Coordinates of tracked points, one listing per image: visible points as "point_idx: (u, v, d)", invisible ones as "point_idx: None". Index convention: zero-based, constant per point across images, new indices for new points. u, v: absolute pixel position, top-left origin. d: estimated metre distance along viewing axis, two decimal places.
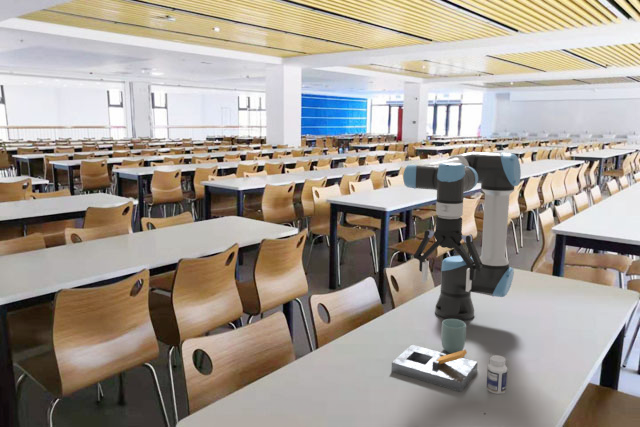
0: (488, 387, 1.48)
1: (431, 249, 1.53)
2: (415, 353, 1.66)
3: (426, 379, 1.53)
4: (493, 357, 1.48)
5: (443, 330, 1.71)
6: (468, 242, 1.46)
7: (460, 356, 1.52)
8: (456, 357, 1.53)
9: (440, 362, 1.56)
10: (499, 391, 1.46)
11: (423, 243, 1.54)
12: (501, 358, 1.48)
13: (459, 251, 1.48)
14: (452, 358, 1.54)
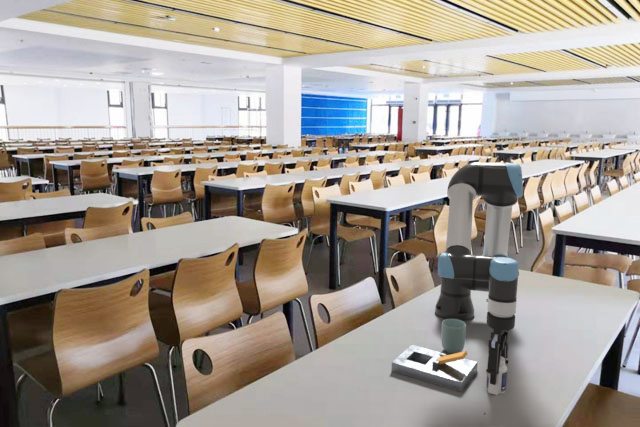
0: None
1: None
2: (415, 353, 1.66)
3: (426, 379, 1.53)
4: None
5: (443, 330, 1.71)
6: None
7: (461, 357, 1.52)
8: (457, 358, 1.53)
9: (440, 362, 1.56)
10: (499, 390, 1.46)
11: None
12: (501, 357, 1.48)
13: None
14: (452, 359, 1.54)
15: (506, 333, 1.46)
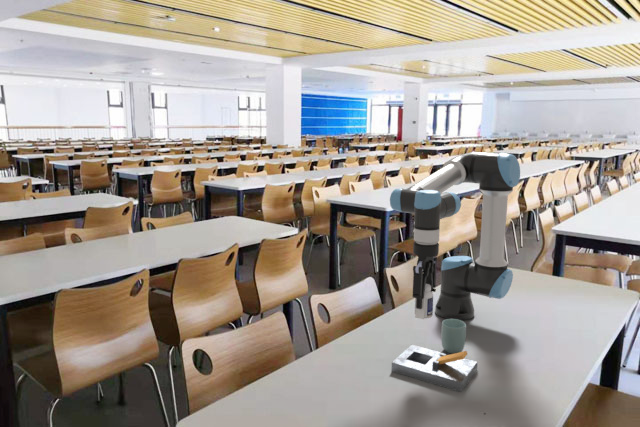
0: None
1: None
2: (415, 353, 1.66)
3: (426, 379, 1.53)
4: None
5: (443, 330, 1.71)
6: None
7: (461, 357, 1.52)
8: (457, 358, 1.53)
9: (440, 362, 1.56)
10: (425, 315, 1.56)
11: None
12: (428, 285, 1.58)
13: None
14: (452, 359, 1.54)
15: (431, 261, 1.56)
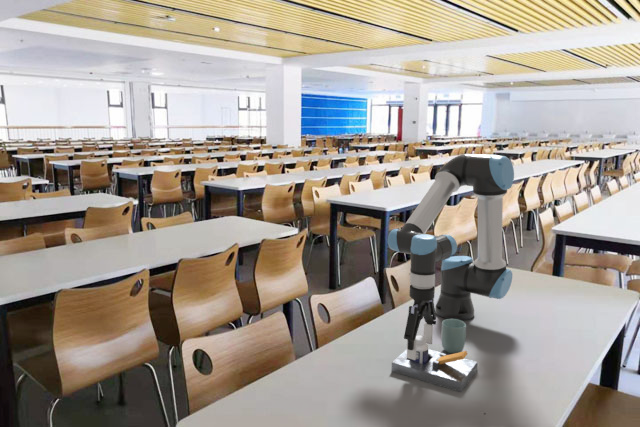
0: None
1: None
2: None
3: (426, 379, 1.53)
4: None
5: (443, 330, 1.71)
6: None
7: (461, 357, 1.52)
8: (457, 358, 1.53)
9: (440, 362, 1.56)
10: None
11: None
12: (423, 337, 1.61)
13: None
14: (452, 359, 1.54)
15: (427, 305, 1.58)
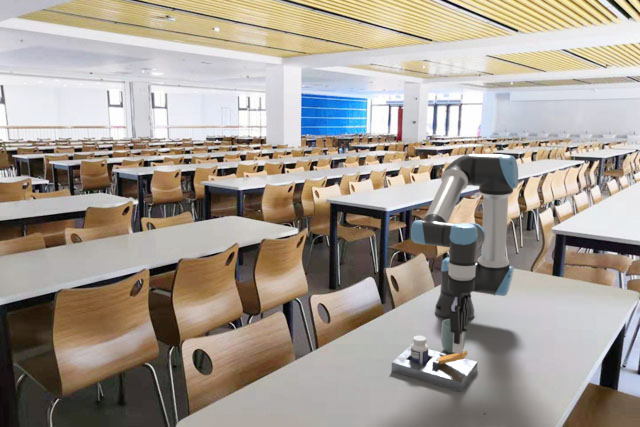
0: None
1: None
2: None
3: (426, 379, 1.53)
4: (415, 337, 1.61)
5: (443, 330, 1.71)
6: None
7: (461, 357, 1.52)
8: (457, 358, 1.53)
9: (440, 362, 1.56)
10: None
11: None
12: (423, 337, 1.61)
13: None
14: (452, 359, 1.54)
15: (466, 296, 1.51)
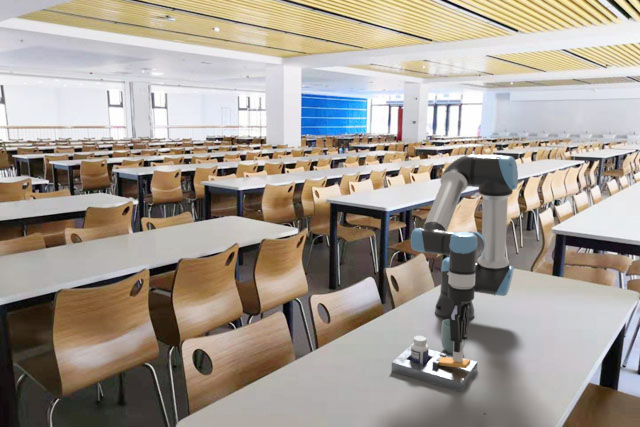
0: None
1: None
2: None
3: (426, 379, 1.53)
4: (416, 337, 1.61)
5: (443, 330, 1.71)
6: None
7: (464, 366, 1.52)
8: (459, 365, 1.53)
9: (441, 364, 1.56)
10: None
11: None
12: (423, 337, 1.61)
13: None
14: (455, 365, 1.53)
15: (466, 304, 1.51)
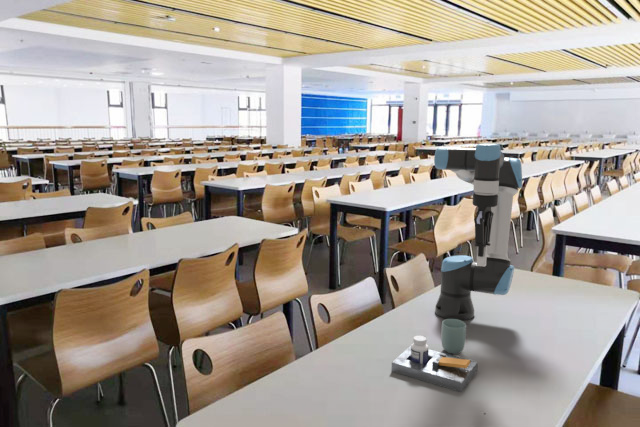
0: None
1: None
2: None
3: (426, 379, 1.53)
4: (415, 337, 1.61)
5: (443, 330, 1.71)
6: None
7: (464, 366, 1.52)
8: (459, 365, 1.53)
9: (441, 364, 1.56)
10: None
11: None
12: (423, 337, 1.61)
13: None
14: (455, 365, 1.53)
15: (490, 212, 1.63)
